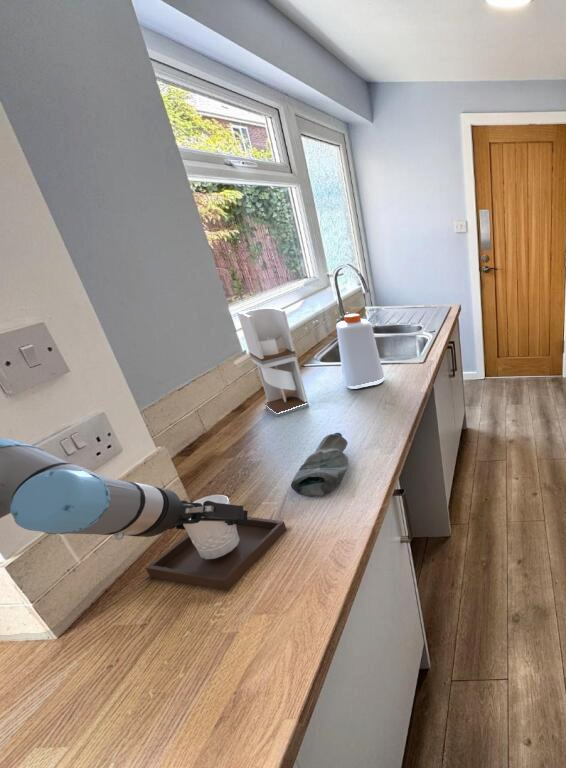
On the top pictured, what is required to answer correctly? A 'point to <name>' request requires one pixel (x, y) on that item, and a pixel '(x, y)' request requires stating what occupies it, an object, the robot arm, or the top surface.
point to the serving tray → (224, 570)
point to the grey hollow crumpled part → (322, 468)
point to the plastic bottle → (358, 351)
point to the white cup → (213, 533)
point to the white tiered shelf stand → (274, 358)
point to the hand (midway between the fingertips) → (223, 520)
